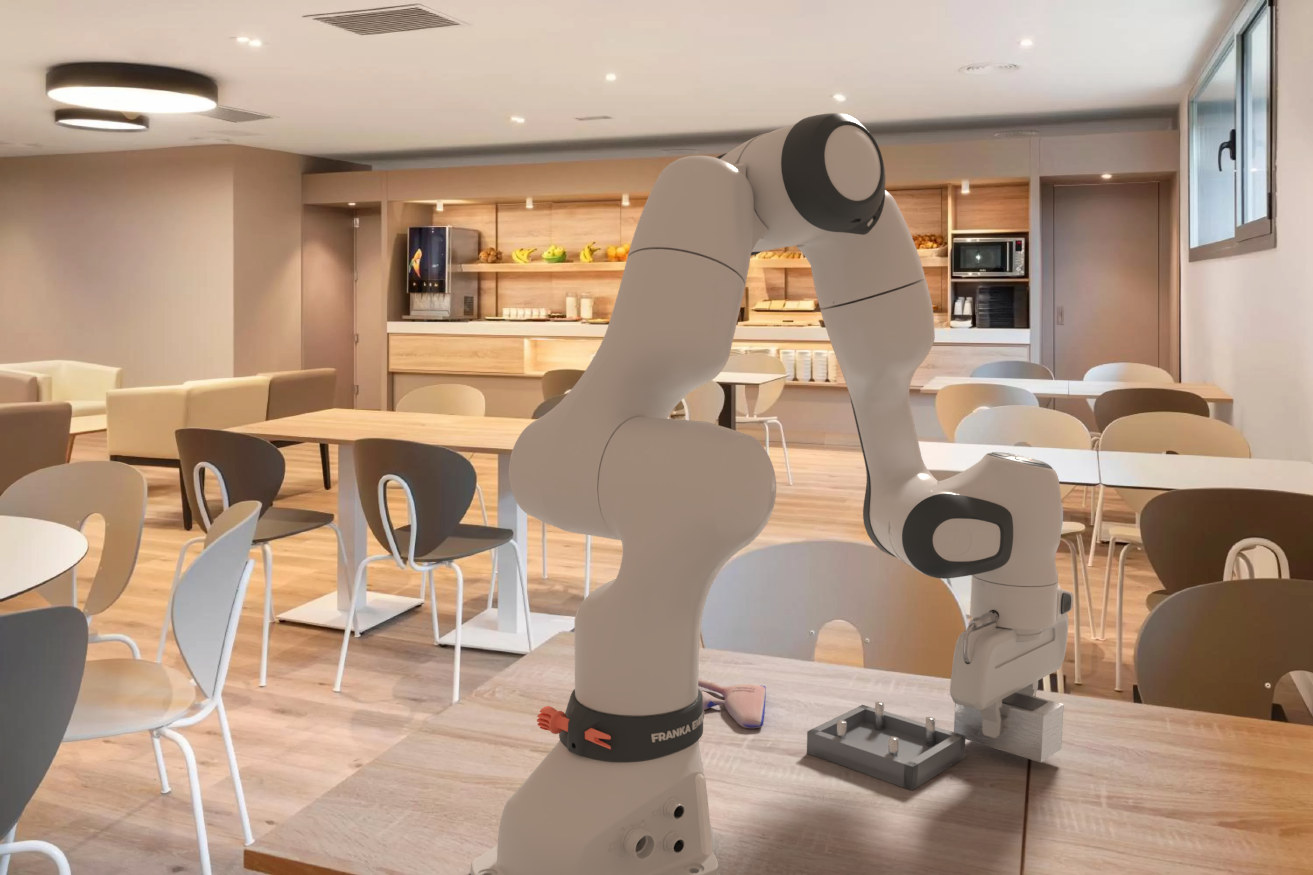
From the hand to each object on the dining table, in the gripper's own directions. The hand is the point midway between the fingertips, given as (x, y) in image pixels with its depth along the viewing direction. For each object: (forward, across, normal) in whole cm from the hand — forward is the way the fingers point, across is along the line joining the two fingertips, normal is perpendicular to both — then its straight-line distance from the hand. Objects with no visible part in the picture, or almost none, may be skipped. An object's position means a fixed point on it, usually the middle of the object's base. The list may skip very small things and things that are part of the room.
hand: (1006, 726), depth 115 cm
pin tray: (+3, -10, +9) cm, 14 cm away
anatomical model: (+4, -14, +36) cm, 38 cm away
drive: (+2, 0, 0) cm, 2 cm away
